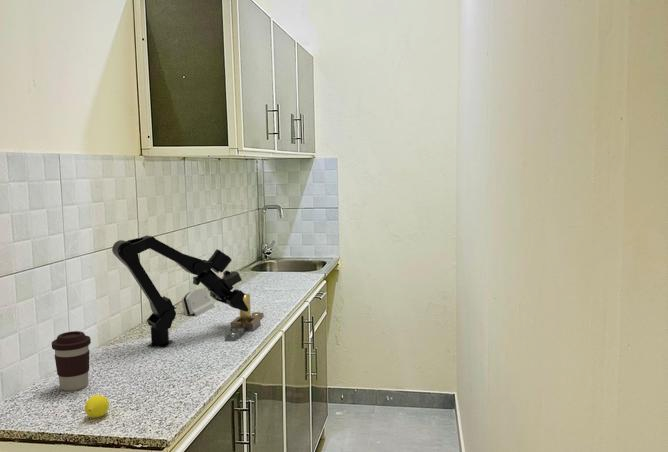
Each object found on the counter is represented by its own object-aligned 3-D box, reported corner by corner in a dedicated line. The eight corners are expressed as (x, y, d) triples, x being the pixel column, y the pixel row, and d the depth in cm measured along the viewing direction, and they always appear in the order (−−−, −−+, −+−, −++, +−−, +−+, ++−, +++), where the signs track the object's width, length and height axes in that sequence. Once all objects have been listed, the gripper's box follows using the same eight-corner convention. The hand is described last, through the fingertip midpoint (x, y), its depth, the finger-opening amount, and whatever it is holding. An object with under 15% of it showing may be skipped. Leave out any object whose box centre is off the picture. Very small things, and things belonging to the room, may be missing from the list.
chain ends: (241, 341, 206) (241, 332, 206) (218, 340, 208) (217, 331, 208) (269, 316, 238) (269, 309, 238) (249, 315, 240) (248, 308, 239)
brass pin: (246, 329, 220) (245, 296, 219) (238, 328, 222) (236, 295, 221) (253, 326, 224) (252, 294, 222) (244, 325, 226) (243, 293, 224)
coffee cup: (49, 386, 168) (45, 334, 166) (85, 377, 174) (81, 327, 173) (63, 396, 161) (59, 342, 159) (99, 386, 167) (95, 334, 166)
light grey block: (196, 316, 240) (187, 293, 240) (186, 319, 242) (177, 296, 242) (215, 306, 256) (207, 284, 256) (205, 309, 258) (197, 287, 258)
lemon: (93, 412, 151) (94, 391, 151) (114, 413, 150) (114, 392, 150) (78, 421, 144) (78, 398, 144) (99, 422, 143) (100, 399, 143)
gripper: (238, 268, 209) (267, 295, 216) (216, 261, 224) (244, 286, 232) (218, 293, 205) (248, 320, 213) (197, 285, 221) (226, 309, 228)
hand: (242, 308), depth 221 cm, fingers open, 9 cm apart
